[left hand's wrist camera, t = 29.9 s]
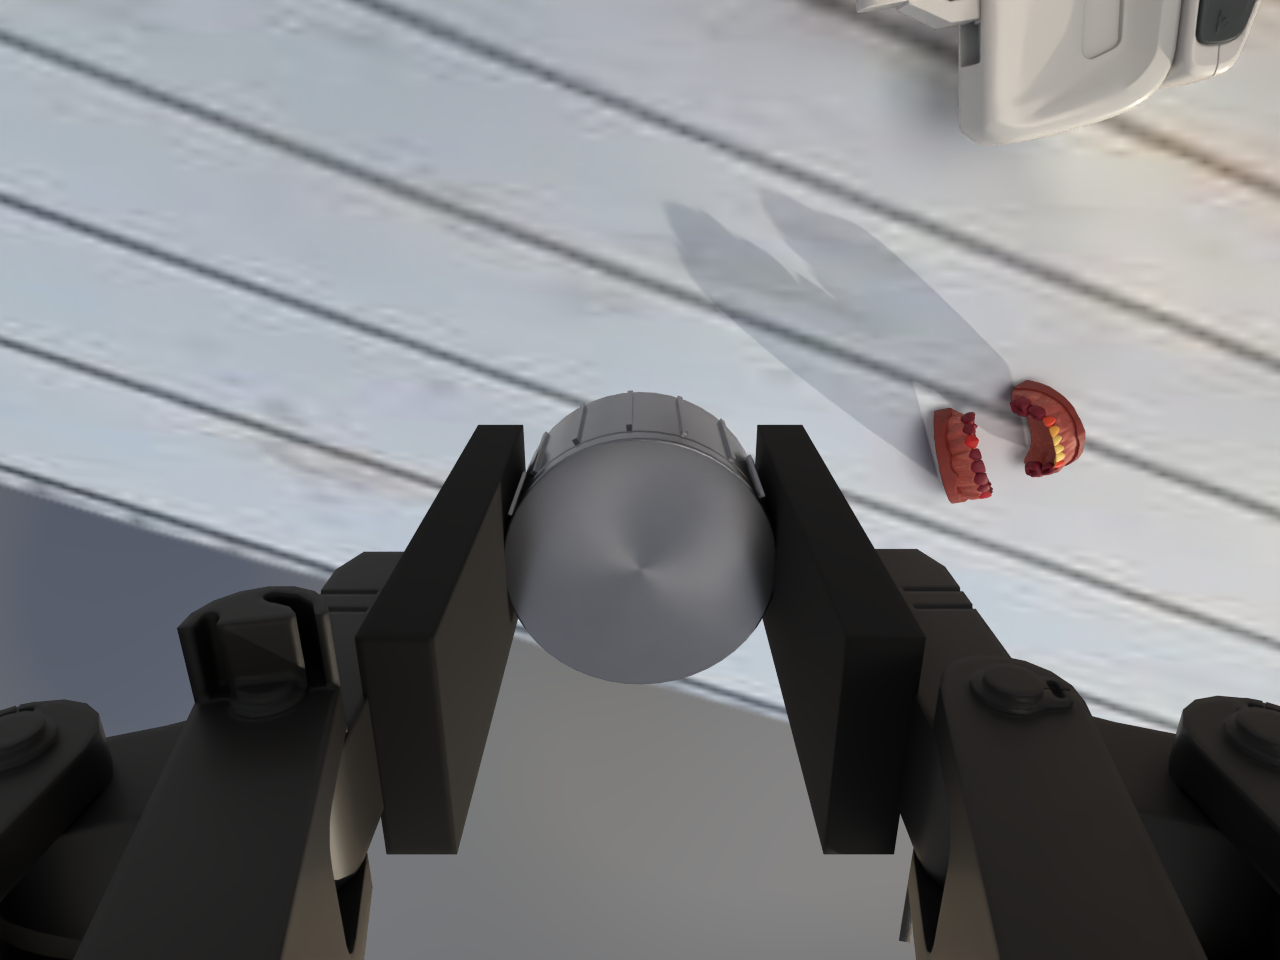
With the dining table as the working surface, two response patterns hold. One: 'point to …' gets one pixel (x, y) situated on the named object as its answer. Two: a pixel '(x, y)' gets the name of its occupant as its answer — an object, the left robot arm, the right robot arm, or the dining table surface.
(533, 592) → the cap
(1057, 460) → the dental model
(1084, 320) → the dining table surface
